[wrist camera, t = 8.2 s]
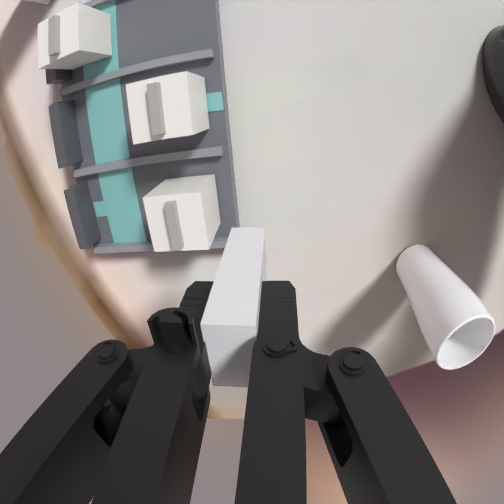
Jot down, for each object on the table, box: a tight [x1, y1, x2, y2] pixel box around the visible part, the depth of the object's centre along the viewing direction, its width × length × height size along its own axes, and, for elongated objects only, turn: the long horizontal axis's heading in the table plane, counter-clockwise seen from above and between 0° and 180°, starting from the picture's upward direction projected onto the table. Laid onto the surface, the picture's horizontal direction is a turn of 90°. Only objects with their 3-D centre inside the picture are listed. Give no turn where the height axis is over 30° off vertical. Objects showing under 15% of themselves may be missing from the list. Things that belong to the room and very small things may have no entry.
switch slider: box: [143, 174, 221, 252], centre depth 27 cm, size 5×5×7 cm
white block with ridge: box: [126, 71, 209, 144], centre depth 22 cm, size 5×5×7 cm
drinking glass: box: [396, 244, 495, 370], centre depth 27 cm, size 7×7×15 cm
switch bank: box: [46, 0, 240, 254], centre depth 26 cm, size 18×30×5 cm, turn 4°
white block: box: [38, 3, 112, 70], centre depth 19 cm, size 5×5×7 cm
